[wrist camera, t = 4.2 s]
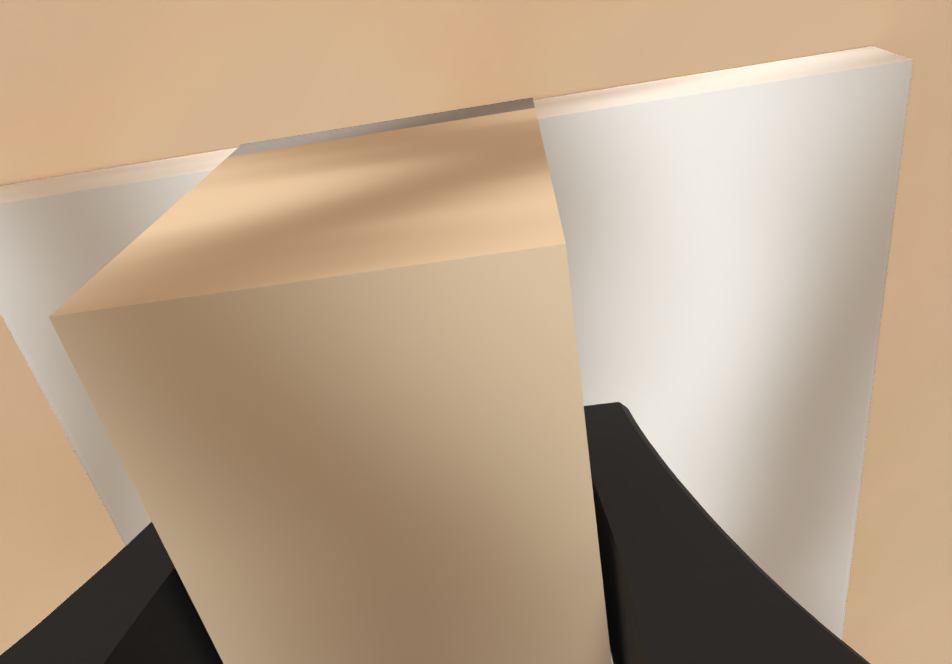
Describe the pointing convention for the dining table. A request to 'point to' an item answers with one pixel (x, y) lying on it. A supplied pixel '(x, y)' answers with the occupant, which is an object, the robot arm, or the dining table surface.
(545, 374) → the block
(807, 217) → the board
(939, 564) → the dining table surface
